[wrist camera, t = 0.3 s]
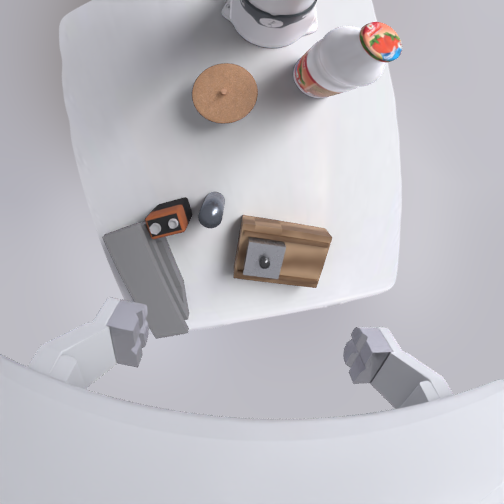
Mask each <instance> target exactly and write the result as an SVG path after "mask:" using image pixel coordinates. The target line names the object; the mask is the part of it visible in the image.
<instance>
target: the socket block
mask: <svg viewBox="0 0 504 504" xmlns="http://www.w3.org/2000/svg"><path fill="white" fill-rule="evenodd" d="M249 237H255V238H262V239H268V240H275V241H282V242H284V243H285V245H286V250H285V254H284V258H283V262H282V266H281V270H280V274H279V278H278V279H273V278H265V277H257V276H249V275H243V265H244V260H245V254H246V249H247V243H248V238H249ZM331 240H332V237H331V235H330V234H329V233H328V231H327V230H326V229H325V228H319V227H314V226H308V225H302V224H296V223H290V222H284V221H278V220H272V219H266V218H259V217H253V216H246V215H243V216H242V222H241V228H240V233H239V239H238V245H237V251H236V257H235V263H234V278H238V279H246V280H254V281H262V282H270V283H278V284H287V285H295V286H304V287H313V288H316V287H317V284H318V281H319V278H320V275H321V272H322V269H323V266H324V262H325V259H326V256H327V253H328V250H329V246H330V243H331Z"/></svg>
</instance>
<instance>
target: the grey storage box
mask: <svg viewBox="0 0 504 504" xmlns="http://www.w3.org/2000/svg"><path fill="white" fill-rule="evenodd" d="M102 238H103V240H104V242H105V244H106V246H107V249H108V251H109V253H110V255H111V257H112V259H113V261H114V263H115V266H116V268H117V270H118V272H119V274H120V276H121V278H122V279H123V281H124V283H125V285H126V287H127V289H128V291H129V293H130V295H131V297H132V298H133V300H134V302H136V303H141V304H146V305H147V311H148V314H147V317H146V321H147V322H148V327H149V328H150V330H151V332H152V333H153V335H154V336H155V338H162V337H168V336H174V335H180V334H185V333H188V329H189V328H188V326H187V324H186V322H185V320H187V319H188V316H189V310H188V304H187V298H186V292H185V286H184V280H183V278H182V275H181V273H180V271H179V268H178V266H177V264H176V261H175V259H174V257H173V254H172V252H171V249H170V247H169V244H168V242H167V240H166V237H161V238H157V239H152V238H151V236H150V233H149V230H148V227H147V224H146V222H142V223H140V222H139V223H136V224H133V225H130V226H127V227H124V228H121V229H119V230H116V231H113V232H110V233H108V234H105V235H104V236H103V237H102Z"/></svg>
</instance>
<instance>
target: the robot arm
mask: <svg viewBox="0 0 504 504" xmlns="http://www.w3.org/2000/svg"><path fill="white" fill-rule="evenodd" d="M316 1H317V0H227V2H226V4H225V5H224V7H223V9H222V15H223V16H224V17H225V18H226V19H228V20H229V21H231V22H232V24H233V25H234V27H235V29H236V30H237V32H238V33H239V34H240V35H241V36H242V37H243V38H244V39H245V40H247V41H249V42H250V43H253V44H255V45H258V46H262V47H268V48H277V47H283V46H287V45H289V44H292V43H294V42H295V41H297V40H298V39H299V38H300V37H302V36H304V35H307V34H311V33H314V32H316V30H317V27H318V26H317V13H316ZM228 7H230V9H229V8H228ZM312 23H313V24H312ZM147 314H148V311H147V305H146V304H141V303H136V302H131V301H127V300H121V299H117V298H112V297H110V298H108V299H107V300H106V301H105V303H104V305H103V306H102V308H101V309H100V311H99V313H98V314H97V316H96V317H95V319H94V321H93V322H88V323H86V324H84V325H81V326H80V327H77V328H75V329H73V330H71V331H69V332H67V333H65V334H63V335H61V336H59V337H57V338H55V339H53V340H51V341H49V342H47V343H45V344H43V345H41V346H40V348H39V349H38V351H37V353H36V354H35V356H34V357H33V359H32V360H31V362H30V363H29V365H28V367H26V366H24V365H22V364H20V363H18V362H16V361H14V360H12V359H10V358H7V357H5V356H3V355H2V354H0V504H504V380H503V379H499V380H495V381H493V382H490V383H488V384H485V385H482V386H480V387H477V388H474V389H471V390H468V391H465V392H462V393H459V394H455V395H454V394H453V393H452V391H451V389H450V387H449V386H448V384H447V383H446V381H445V379H444V378H443V377H442V376H441V375H439V374H438V373H436V372H435V371H433V370H432V369H430V368H429V367H427V366H426V365H424V364H423V363H421V362H420V361H419V360H417V359H415V358H414V357H413V356H411V355H409V354H408V353H407V352H402V350H401V348H400V346H399V345H398V343H397V342H396V340H395V338H394V337H393V335H392V334H391V332H390V330H389V329H388V328H386V327H376V328H363V327H356V328H355V329H354V330H353V332H352V334H351V336H352V339H351V340H350V341H349V342H347V344H346V346H345V348H344V361H345V364H346V365H347V366H349V367H350V370H349V374H350V376H351V379H352V381H353V383H354V384H359V383H370V384H371V385H372V386H373V387H374V388H375V389H376V390H377V391H378V392H379V393H380V394H381V395H382V396H383V397H384V398H385V399H386V400H387V401H388V402H389V403H390V404H391V405H392V406H393V407H394V408H395V409H392V410H386V411H380V412H373V413H366V414H358V415H350V416H339V417H328V418H310V419H254V418H253V419H252V418H236V417H223V416H213V415H204V414H195V413H188V412H181V411H175V410H169V409H163V408H158V407H153V406H148V405H143V404H139V403H134V402H130V401H125V400H121V399H117V398H114V397H110V396H107V395H103V394H100V393H96V392H93V391H90V390H87V387H89V386H90V385H91V384H92V383H94V382H95V381H96V380H97V379H99V378H100V377H101V376H103V375H104V374H105V373H106V372H108V371H109V370H110V369H111V368H113V367H114V366H115V365H116V364H117V363H118V364H124V365H128V366H134V367H138V366H139V363H140V360H141V357H142V348H143V347H145V345H146V342H147V338H148V322H147V321H146V317H147Z"/></svg>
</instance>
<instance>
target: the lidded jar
mask: <svg viewBox="0 0 504 504" xmlns="http://www.w3.org/2000/svg"><path fill="white" fill-rule="evenodd" d="M257 95H258V89H257V85H256V82H255V80H254V78H253V76H252V75H251V74H250V73H249V72H248V71H247V70H246V69H244V68H242V67H240V66H238V65H234V64H228V63H225V64H217V65H214V66H212V67H210V68H208V69H206V70H205V71H203V72H202V73H201V74H200V75H199V77H198V78H197V79H196V81H195V83H194V86H193V90H192V99H193V103H194V106H195V108H196V109H197V111H198V112H199V113H200V114H201V115H202V116H203V117H204V118H206V119H208V120H210V121H212V122H216V123H232V122H235V121H238V120H240V119H242V118H244V117H245V116H246V115H247V114H248V113H250V111H251V110H252V109H253V107H254V105H255V103H256V100H257Z"/></svg>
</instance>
